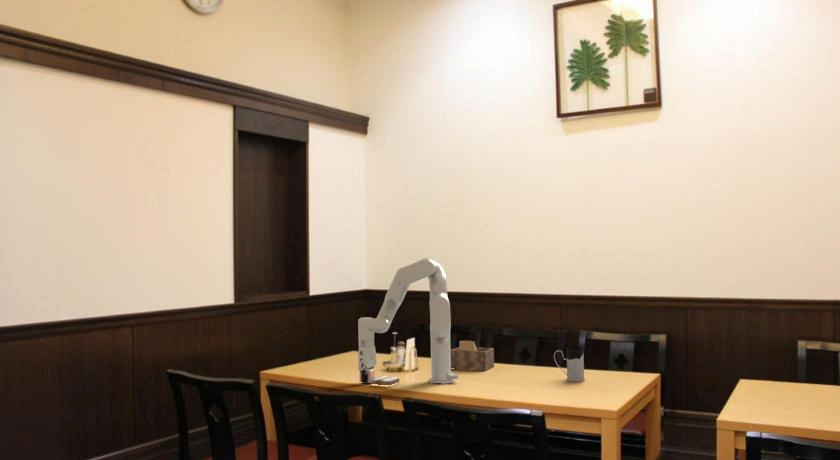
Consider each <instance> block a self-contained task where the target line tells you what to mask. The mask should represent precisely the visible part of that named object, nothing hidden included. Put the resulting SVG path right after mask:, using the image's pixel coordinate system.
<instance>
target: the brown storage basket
mask: <svg viewBox="0 0 840 460" xmlns="http://www.w3.org/2000/svg"><path fill="white" fill-rule="evenodd" d="M476 348H477V350H478V351H460V348H459V347H455V348H452V349H451V368H454V369H453V370H456V369H467V370H466V371H469V370H468V369H470V368H473V367H474V370H480V371H479V372H487V371H490V370H491V369H493V368H495V349H494V347H476ZM486 370H487V371H486Z"/></svg>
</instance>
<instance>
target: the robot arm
mask: <svg viewBox="0 0 840 460" xmlns="http://www.w3.org/2000/svg"><path fill="white" fill-rule="evenodd" d="M425 278H428V285H429V315H430V319H429V320H430V323H429V331H430V332H429V333H430V335H429V337H430V364H431V365H430V367H431V369H430V370H431V371H430V372H431V374H430V375H431V377H429V378H428V379H427V380H428V381H430V382H433V383H432V384H435V383H441V384H440V385H442V384H443V385H445V384H451V383H452V384H453V383H454V382H455V380H459V379H460V376H459V374H454V371H452V369H451V350H452V348H451V328H452V327H451V326H452V323H451V322H452V321H451V320H452V319H451V304H450V303H451V302H450V300H449V297H448V284H447V275H446V273H445V270H444V268H443V267H442V265H440V264H439V263H438V262H437V261H435V260H433V259H432V258H428V257H426V258H422V259H420V260H418V261H416V262H413V263H411V264H409V265H406V266H403V267H399V268H398V269H397V270H396V272H395V274H394V277H393V279H392V282H391V283H390V285H389V288H388V290H387V291H386V293H385V296H384V301H383V303H382V304H381V305H382V306H381V308H380V310H379V312H378V314H377V316H376V317H375V318H373V317H367V316H366V317H364V316H363V317H360V318H359V319H358V320H357V321H358V322H357V323H358V324H357V326H358V327H357V328H358V329H357V331H358V352H357V353H358V355H357V364H358V369H357V370H358V371H359V373H360V372H361V381H362V383H368V374H367V369H375V367H376V366H377V351H376V346H375V333H377V334H383V333H386V332H388V330H389V329H390V327H391V324H392V322H393V319H394V317H395V315H396V313H397V311H398V309H399V308H400V306H401V305H402V303H403V301H404V299H405V296H406V294H407V292H408V290H409V288H410V286H411V284H413V283H417V281H420V280H423V279H425ZM364 369H365V370H364ZM428 381H427V382H428ZM430 382H429V383H430Z"/></svg>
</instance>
